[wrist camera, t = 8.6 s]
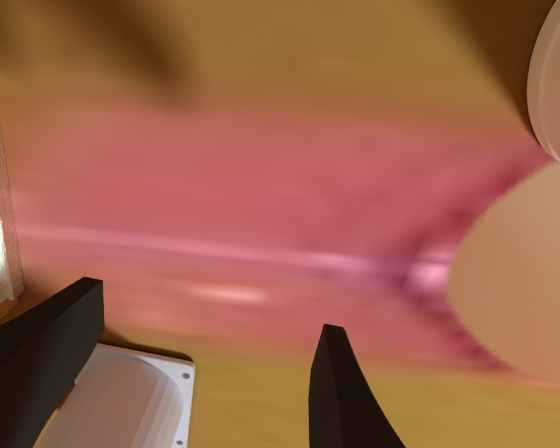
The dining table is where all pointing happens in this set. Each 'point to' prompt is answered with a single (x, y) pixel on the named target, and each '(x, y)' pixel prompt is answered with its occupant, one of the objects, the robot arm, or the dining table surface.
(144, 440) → the robot arm
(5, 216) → the door track
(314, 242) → the dining table surface
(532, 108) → the jar
